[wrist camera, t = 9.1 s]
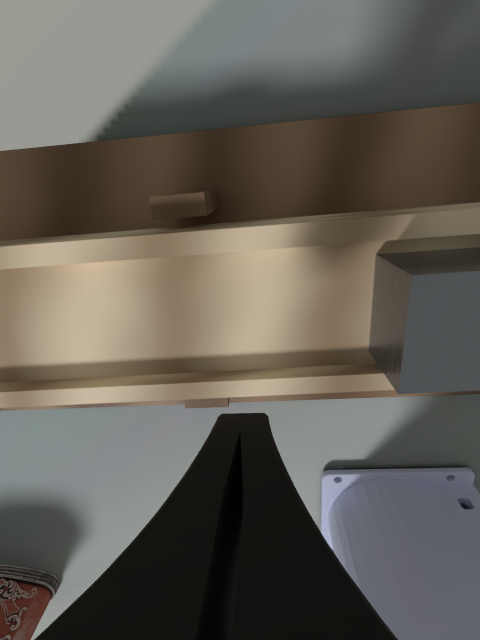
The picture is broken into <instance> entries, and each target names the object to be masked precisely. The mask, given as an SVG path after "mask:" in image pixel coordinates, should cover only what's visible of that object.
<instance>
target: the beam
mask: <svg viewBox="0 0 480 640" xmlns="http://www.w3.org/2000/svg"><path fill="white" fill-rule="evenodd" d="M473 247H480V202H477V203H465V204H453V205H440V206H428V207H415V208H403V209H391V210H378V211H366V212H353V213H341V214H329V215H316V216H304V217H291V218H279V219H266V220H254V221H242V222H229V223H217V224H204V225H192V226H180V227H167V228H155V229H142V230H130V231H118V232H105V233H93V234H80V235H68V236H56V237H43V238H31V239H18V240H6V241H0V408H11V407H33V406H55V405H77V404H98V403H120V402H142V401H164V400H186V399H207V398H229V397H251V396H273V395H294V394H316V393H338V392H360V391H382V390H395V389H394V388H393V386H392V385H391V383H390V382H389V380H388V379H387V378H386V376H385V375H384V373H383V372H382V370H381V369H380V367H379V366H378V364H377V363H376V362H375V360H374V359H373V357H372V356H371V354H370V353H369V339H370V325H371V312H372V298H373V285H374V272H375V258H376V254H389V253H403V252H417V251H431V250H445V249H459V248H473Z"/></svg>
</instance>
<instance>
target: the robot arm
mask: <svg viewBox="0 0 480 640" xmlns="http://www.w3.org/2000/svg"><path fill="white" fill-rule="evenodd" d="M336 477H339V478H336ZM474 479H475V474H474V473H473V472H472V470H471V469H469V468H413V469H358V470H326V471H324V472H323V473H322V476H321V532H320V530H319V529H318V527H317V525H316V524H315V522H314V520H313V519H312V517H311V515H310V514H309V512H308V510H307V508H306V507H305V505H304V503H303V501H302V499H301V497H300V496H299V494H298V492H297V490H296V488H295V486H294V484H293V482H292V480H291V478H290V476H289V474H288V472H287V470H286V467H285V465H284V463H283V461H282V459H281V456H280V454H279V452H278V449H277V447H276V444H275V441H274V438H273V435H272V432H271V428H270V424H269V419H268V416H267V415H266V414H265V413H238V414H221V415H220V416H219V417H218V419H217V421H216V423H215V425H214V427H213V429H212V431H211V432H210V434H209V436H208V438H207V440H206V441H205V443H204V445H203V446H202V448H201V450H200V451H199V453H198V455H197V456H196V458H195V459H194V461H193V462H192V464H191V466H190V467H189V469H188V470H187V472H186V473H185V475H184V476H183V478H182V479H181V480H180V482H179V483H178V485H177V486H176V487H175V489H174V490H173V492H172V493H171V494H170V496H169V497H168V498H167V500H166V501H165V503H164V504H163V505H162V506H161V508H160V509H159V510H158V512H157V513H156V514H155V515H154V517H153V518H152V519H151V520H150V521H149V523H148V524H147V525H146V526H145V527H144V529H143V530H142V531H141V532H140V533H139V535H138V536H137V537H136V538H135V539H134V540H133V541H132V543H131V544H130V545H129V546H128V547H127V548H126V549H125V550H124V551H123V552H122V554H121V555H120V556H119V557H118V558H117V559H116V560H115V561H114V562H113V563H112V565H111V566H110V567H109V568H108V569H107V570H106V571H105V572H104V573H103V574H102V575H101V576H100V577H99V578H98V579H97V580H96V581H95V582H94V583H93V584H92V585H91V586H90V587H89V588H88V589H87V590H86V591H85V592H84V593H83V594H82V595H81V596H80V597H79V598H78V599H77V600H76V601H75V602H74V603H73V604H71V605H70V606H69V607H68V608H67V609H66V610H65V611H64V612H63V613H62V614H61V615H60V616H59V617H58V618H57V619H56V620H55V621H54V622H53V623H52V624H51V625H50V626H49V627H48V628H47V629H45V630H44V631H43V632H42V633H41V634H40V635H39V636H38V637H37V638H36V639H34V640H480V493H479V492H478V491H477V489H476V488H475V486H474V485H473V483H474Z"/></svg>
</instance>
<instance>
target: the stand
mask: <svg viewBox="0 0 480 640" xmlns="http://www.w3.org/2000/svg"><path fill="white" fill-rule="evenodd" d="M477 202H480V102H478V103H469V104H459V105H449V106H439V107H429V108H420V109H410V110H400V111H390V112H380V113H371V114H361V115H351V116H341V117H331V118H322V119H312V120H302V121H292V122H282V123H273V124H263V125H253V126H243V127H233V128H224V129H214V130H204V131H194V132H184V133H175V134H165V135H155V136H145V137H135V138H126V139H116V140H106V141H96V142H86V143H76V144H67V145H57V146H47V147H39V148H28V149H18V150H8V151H0V241H6V240H18V239H31V238H43V237H56V236H68V235H80V234H93V233H105V232H118V231H130V230H142V229H155V228H167V227H180V226H192V225H204V224H217V223H229V222H242V221H254V220H266V219H279V218H291V217H304V216H316V215H329V214H341V213H353V212H366V211H378V210H391V209H403V208H415V207H428V206H440V205H453V204H465V203H477ZM458 394H480V391H459V392H437V393H414V394H397V392H396V391H395V390H382V391H360V392H338V393H316V394H294V395H273V396H251V397H229V398H207V399H186V400H164V401H142V402H120V403H98V404H77V405H55V406H33V407H11V408H0V411H2V410H30V409H59V408H87V407H116V406H144V405H173V404H185V407H186V408H207V407H229V403H230V402H258V401H287V400H315V399H344V398H372V397H401V396H429V395H458Z"/></svg>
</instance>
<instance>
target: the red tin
mask: <svg viewBox="0 0 480 640" xmlns="http://www.w3.org/2000/svg"><path fill="white" fill-rule="evenodd" d="M59 586H60V582H59V579H58V578H57V577H56V576H55V575H53V574H52V573H49V572H45V571H41V570H36V569H32V568H27V567H20V566H13V565H1V564H0V640H30V639H31V637H32V635H33V633H34V631H35V629H36V627H37V625H38V623H39V621H40V619H41V617H42V615H43V613H44V611H45V609H46V607H47V605H48V603H49V601H51V600H53V598H54V596H55V594H56V592H57V590H58V588H59Z"/></svg>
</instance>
